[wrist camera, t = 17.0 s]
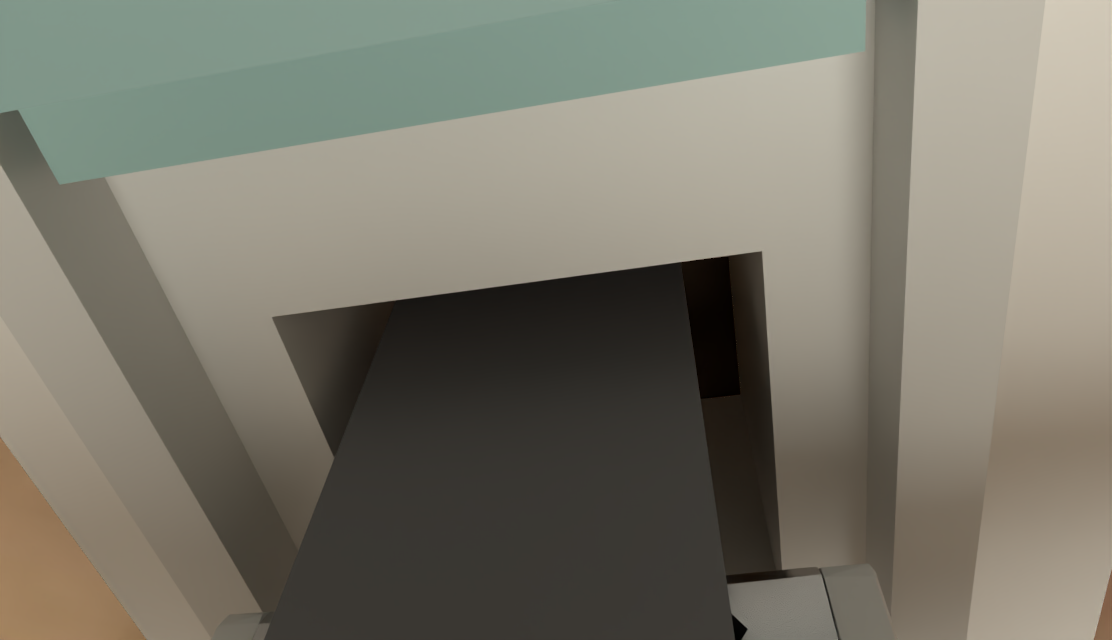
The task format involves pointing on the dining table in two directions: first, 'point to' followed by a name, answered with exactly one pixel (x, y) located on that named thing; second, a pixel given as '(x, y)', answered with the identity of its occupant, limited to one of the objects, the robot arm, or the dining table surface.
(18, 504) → the dining table surface
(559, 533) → the plug
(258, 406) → the socket
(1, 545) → the dining table surface
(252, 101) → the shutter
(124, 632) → the dining table surface
